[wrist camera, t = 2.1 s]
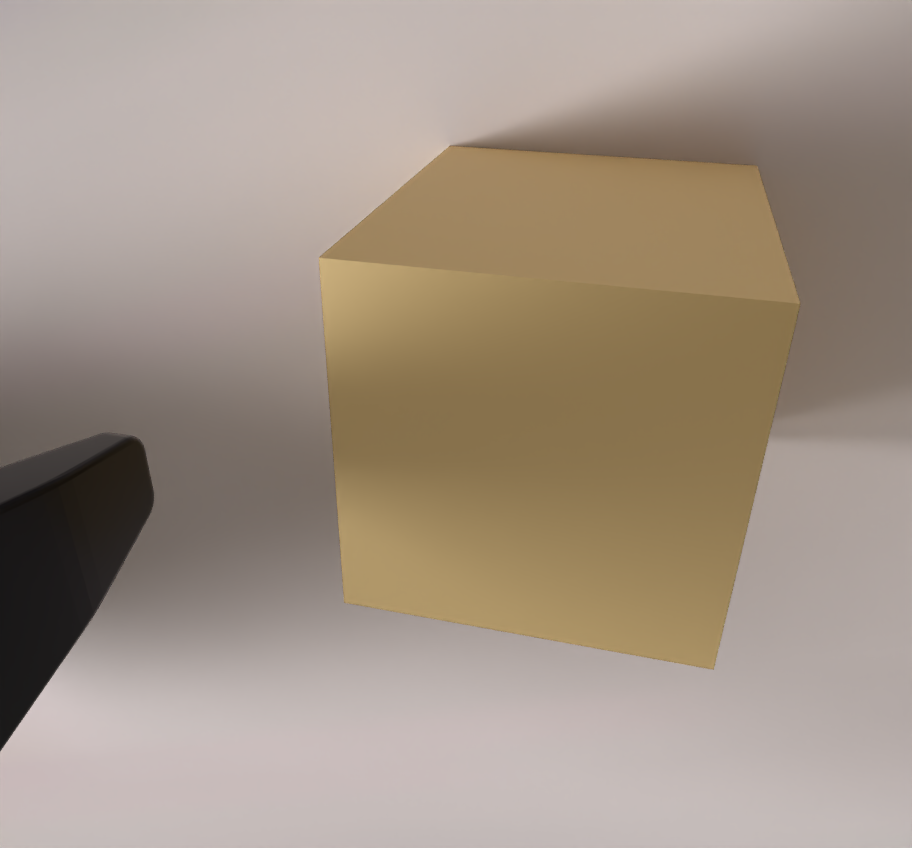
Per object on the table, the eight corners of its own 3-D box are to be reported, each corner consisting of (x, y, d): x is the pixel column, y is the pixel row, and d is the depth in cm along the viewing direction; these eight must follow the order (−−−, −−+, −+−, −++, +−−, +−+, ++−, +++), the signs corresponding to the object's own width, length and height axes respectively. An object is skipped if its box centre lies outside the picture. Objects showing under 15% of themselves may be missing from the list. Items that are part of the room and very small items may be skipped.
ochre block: (705, 435, 16) (714, 670, 11) (448, 402, 17) (343, 602, 12) (757, 165, 13) (800, 303, 8) (450, 145, 14) (318, 258, 9)
